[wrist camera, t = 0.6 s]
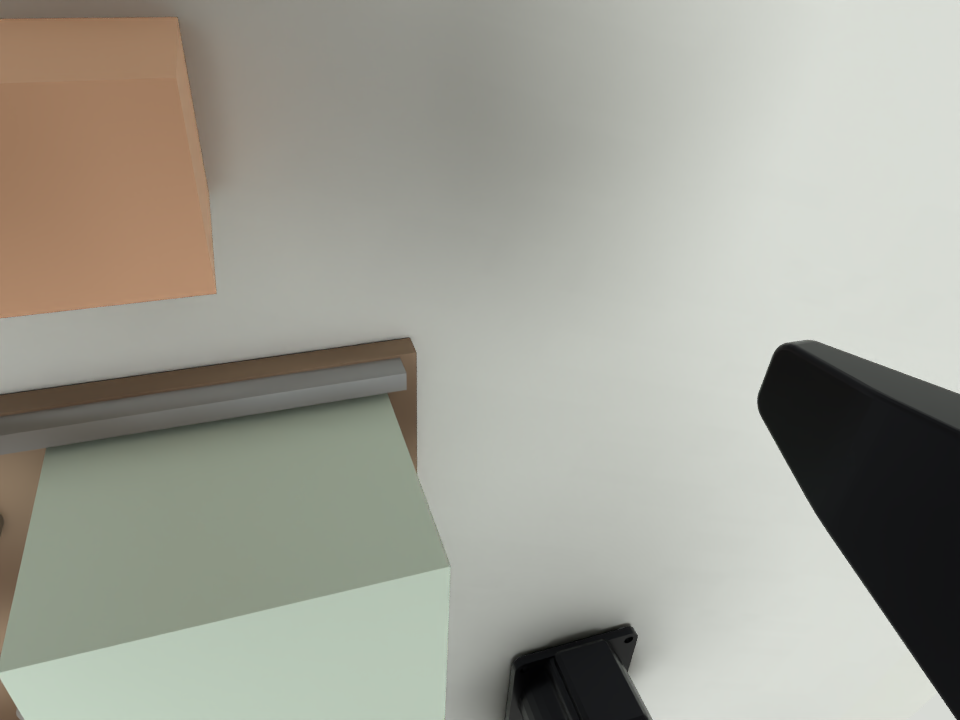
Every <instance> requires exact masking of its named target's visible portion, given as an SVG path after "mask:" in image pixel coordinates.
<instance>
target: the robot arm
mask: <svg viewBox="0 0 960 720" xmlns="http://www.w3.org/2000/svg"><path fill="white" fill-rule="evenodd" d="M757 404H758V410H759V413H760V415H761V417H762V419H763V421H764V423H765V425H766V426H767V428H768V430H769V432H770V434H771V435H772V437H773V439H774V441H775V442H776V444H777V446H778V448H779V450H780V451H781V453H782V455H783V457H784V459H785V460H786V462H787V464H788V466H789V468H790V469H791V471H792V473H793V475H794V477H795V478H796V480H797V482H798V484H799V486H800V487H801V489H802V491H803V493H804V495H805V496H806V498H807V500H808V502H809V503H810V505H811V507H812V508H813V510H814V512H815V513H816V515H817V517H818V518H819V520H820V521H821V523H822V524H823V526H824V527H825V529H826V530H827V532H828V533H829V535H830V536H831V538H832V539H833V540H834V542H835V543H836V545H837V546H838V548H839V549H840V551H841V552H842V554H843V555H844V556H845V558H846V559H847V561H848V562H849V564H850V565H851V567H852V568H853V570H854V571H855V572H856V574H857V575H858V577H859V578H860V580H861V581H862V583H863V584H864V586H865V587H866V588H867V590H868V591H869V593H870V594H871V596H872V597H873V599H874V600H875V602H876V603H877V604H878V606H879V607H880V609H881V610H882V612H883V613H884V615H885V616H886V618H887V619H888V620H889V622H890V623H891V625H892V626H893V628H894V629H895V631H896V632H897V634H898V635H899V636H900V638H901V639H902V641H903V642H904V644H905V645H906V647H907V648H908V650H909V651H910V652H911V654H912V655H913V657H914V658H915V660H916V661H917V663H918V664H919V666H920V667H921V668H922V670H923V671H924V673H925V674H926V676H927V677H928V679H929V680H930V682H931V683H932V684H933V686H934V687H935V689H936V690H937V692H938V693H939V694H940V696H941V697H942V699H943V700H944V702H945V703H946V705H947V706H948V707H949V709H950V711H951V712H952V714H953V715H954V716H955V718H956V719H957V720H960V394H958V393H955V392H953V391H950V390H947V389H945V388H942V387H939V386H936V385H934V384H931V383H928V382H926V381H923V380H920V379H917V378H915V377H912V376H909V375H907V374H904V373H901V372H898V371H896V370H893V369H890V368H888V367H885V366H882V365H879V364H877V363H874V362H871V361H869V360H866V359H863V358H860V357H858V356H855V355H852V354H850V353H847V352H844V351H841V350H839V349H836V348H833V347H831V346H828V345H825V344H822V343H820V342H817V341H813V340H803V341H796V342H789V343H784V344H782V345H780V346H779V347H778V348H777V349H776V350H775V352H774V354H773V356H772V359H771V361H770V364H769V367H768V369H767V372H766V375H765V377H764V380H763V383H762V385H761V388H760V390H759V393H758V398H757ZM637 638H638V635H637V633H636V632H635V630H634V628H633V627H625V628H622V629H618V630H614V631H611V632H607V633H604V634H600V635H597V636H593V637H589V638H586V639H582V640H579V641H575V642H572V643H568V644H565V645H561V646H557V647H554V648H550V649H547V650H543V651H540V652H536V653H533V654H529V655H525V656H522V657H520V658H518V659H516V660H515V661H514V662H513V664H512V669H511V677H510V685H509V693H508V700H507V708H506V716H505V720H653V719H652V718H651V716H650V714H649V712H648V710H647V708H646V706H645V704H644V702H643V701H642V699H641V697H640V695H639V693H638V691H637V689H636V687H635V686H634V684H633V682H632V680H631V678H630V676H629V674H628V669H629V665H630V662H631V659H632V655H633V652H634V648H635V645H636V641H637Z"/></svg>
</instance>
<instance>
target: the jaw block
mask: <svg viewBox="0 0 960 720" xmlns="http://www.w3.org/2000/svg"><path fill="white" fill-rule="evenodd" d="M209 294H217V293H216V280H215V267H214V254H213V241H212V228H211V215H210V202H209V192H208V186H207V181H206V175H205V169H204V164H203V158H202V153H201V147H200V141H199V136H198V130H197V124H196V119H195V113H194V107H193V102H192V96H191V90H190V85H189V79H188V74H187V68H186V62H185V57H184V51H183V45H182V40H181V34H180V28H179V23H178V17H128V18H29V19H0V318H7V317H16V316H24V315H33V314H42V313H51V312H60V311H68V310H77V309H86V308H95V307H104V306H112V305H121V304H130V303H139V302H148V301H156V300H165V299H174V298H183V297H192V296H200V295H209Z"/></svg>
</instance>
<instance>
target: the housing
mask: <svg viewBox="0 0 960 720" xmlns="http://www.w3.org/2000/svg"><path fill="white" fill-rule="evenodd" d="M450 569H451V566H450V563H449V561H448V558H447V555H446V552H445V550H444V547H443V544H442V541H441V539H440V536H439V533H438V531H437V528H436V525H435V522H434V520H433V517H432V514H431V511H430V509H429V506H428V503H427V500H426V498H425V495H424V492H423V489H422V487H421V484H420V481H419V479H418V476H417V473H416V470H415V468H414V465H413V462H412V459H411V457H410V454H409V451H408V448H407V446H406V443H405V440H404V438H403V435H402V432H401V429H400V427H399V424H398V421H397V418H396V416H395V413H394V410H393V407H392V405H391V402H390V399H389V397H388V394H387V393H384V394H377V395H371V396H365V397H359V398H352V399H346V400H340V401H334V402H328V403H321V404H315V405H309V406H303V407H296V408H290V409H284V410H278V411H272V412H265V413H259V414H253V415H247V416H240V417H234V418H228V419H222V420H216V421H209V422H203V423H197V424H191V425H185V426H178V427H172V428H166V429H160V430H153V431H147V432H141V433H135V434H129V435H122V436H116V437H110V438H104V439H97V440H91V441H85V442H79V443H73V444H66V445H60V446H54V447H48V448H46V451H45V456H44V460H43V465H42V470H41V474H40V479H39V483H38V488H37V492H36V497H35V502H34V506H33V511H32V515H31V520H30V524H29V529H28V533H27V538H26V543H25V547H24V552H23V556H22V561H21V565H20V570H19V574H18V579H17V584H16V588H15V593H14V597H13V602H12V606H11V611H10V616H9V620H8V625H7V629H6V634H5V638H4V643H3V647H2V652H1V657H0V680H1V681H2V683H3V685H4V686H5V688H6V690H7V691H8V693H9V695H10V696H11V698H12V700H13V701H14V703H15V705H16V706H17V708H18V710H19V712H20V713H21V715H22V717H23V718H24V720H445V703H446V676H447V649H448V622H449V596H450Z"/></svg>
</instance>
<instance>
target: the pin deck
mask: <svg viewBox="0 0 960 720" xmlns="http://www.w3.org/2000/svg"><path fill="white" fill-rule="evenodd" d="M384 393H387V394H388V397H389V399H390V402H391V405H392V407H393V410H394V413H395V416H396V418H397V421H398V424H399V427H400V429H401V432H402V435H403V438H404V440H405V443H406V446H407V448H408V451H409V454H410V457H411V459H412V462H413V465H414V468H415V470H416V473H417V354H416V350H415V348H414V346H413V343H412V341H411V339H410V338H405V339H398V340H391V341H384V342H377V343H370V344H362V345H355V346H348V347H341V348H334V349H327V350H320V351H312V352H305V353H298V354H291V355H284V356H277V357H270V358H263V359H255V360H248V361H241V362H234V363H227V364H220V365H213V366H205V367H198V368H191V369H184V370H177V371H170V372H163V373H155V374H148V375H141V376H134V377H127V378H120V379H113V380H105V381H98V382H91V383H84V384H77V385H70V386H63V387H55V388H48V389H41V390H34V391H27V392H20V393H13V394H6V395H0V657H1V652H2V647H3V643H4V638H5V634H6V629H7V625H8V620H9V616H10V611H11V606H12V602H13V597H14V593H15V588H16V584H17V579H18V574H19V570H20V565H21V561H22V556H23V552H24V547H25V543H26V538H27V533H28V529H29V524H30V520H31V515H32V511H33V506H34V502H35V497H36V492H37V488H38V483H39V479H40V474H41V470H42V465H43V460H44V456H45V451H46V448H48V447H54V446H60V445H66V444H73V443H79V442H85V441H91V440H97V439H104V438H110V437H116V436H122V435H129V434H135V433H141V432H147V431H153V430H160V429H166V428H172V427H178V426H185V425H191V424H197V423H203V422H209V421H216V420H222V419H228V418H234V417H240V416H247V415H253V414H259V413H265V412H272V411H278V410H284V409H290V408H296V407H303V406H309V405H315V404H321V403H328V402H334V401H340V400H346V399H352V398H359V397H365V396H371V395H377V394H384ZM0 720H24V718H23V717H22V715H21V713H20V712H19V710H18V708H17V706H16V705H15V703H14V701H13V700H12V698H11V696H10V695H9V693H8V691H7V690H6V688H5V686H4V685H3V683H2V681H1V680H0Z"/></svg>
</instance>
